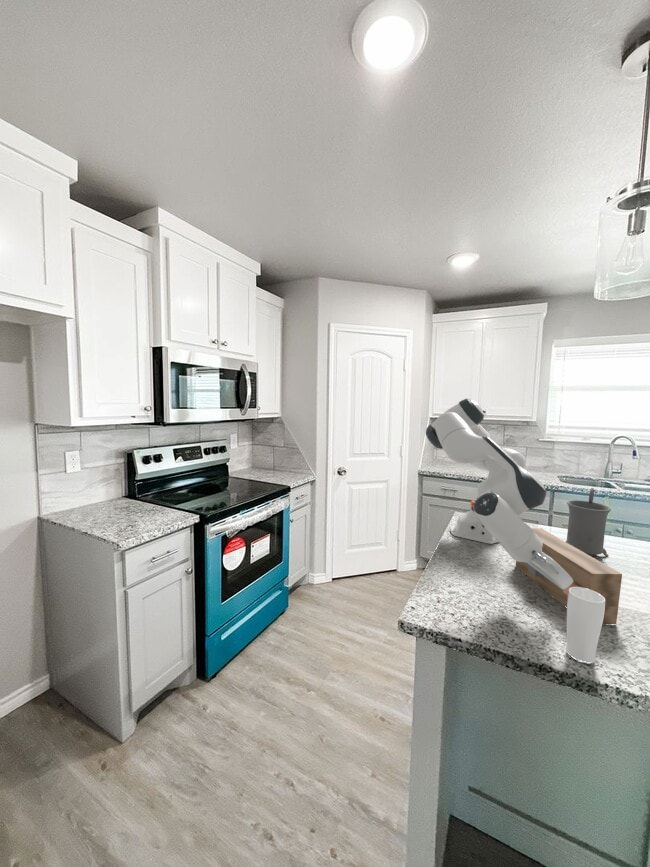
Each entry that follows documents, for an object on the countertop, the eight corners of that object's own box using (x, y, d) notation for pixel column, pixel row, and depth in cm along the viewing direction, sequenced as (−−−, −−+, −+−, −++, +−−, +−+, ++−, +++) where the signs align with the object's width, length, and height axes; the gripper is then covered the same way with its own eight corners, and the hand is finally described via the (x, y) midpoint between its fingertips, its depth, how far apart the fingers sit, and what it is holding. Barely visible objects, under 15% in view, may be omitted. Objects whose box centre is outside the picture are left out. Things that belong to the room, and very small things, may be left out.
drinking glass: (588, 672, 78) (595, 605, 76) (555, 652, 84) (562, 590, 82) (604, 662, 81) (612, 598, 79) (572, 643, 87) (578, 584, 85)
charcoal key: (534, 576, 108) (535, 567, 108) (528, 571, 112) (528, 561, 112) (552, 577, 109) (553, 567, 108) (545, 571, 112) (546, 562, 112)
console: (586, 625, 94) (592, 573, 93) (515, 566, 127) (519, 527, 126) (616, 625, 95) (622, 574, 93) (537, 566, 128) (541, 528, 126)
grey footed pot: (605, 567, 129) (612, 498, 127) (556, 554, 139) (563, 490, 137) (609, 552, 143) (617, 490, 141) (565, 541, 153) (571, 483, 151)
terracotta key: (571, 599, 97) (573, 588, 96) (562, 592, 100) (564, 581, 100) (591, 599, 97) (593, 588, 96) (582, 592, 100) (583, 581, 100)
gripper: (558, 553, 86) (593, 592, 87) (510, 523, 106) (540, 555, 108) (538, 571, 86) (574, 610, 87) (494, 537, 106) (524, 570, 108)
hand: (554, 580), depth 98 cm, fingers closed
